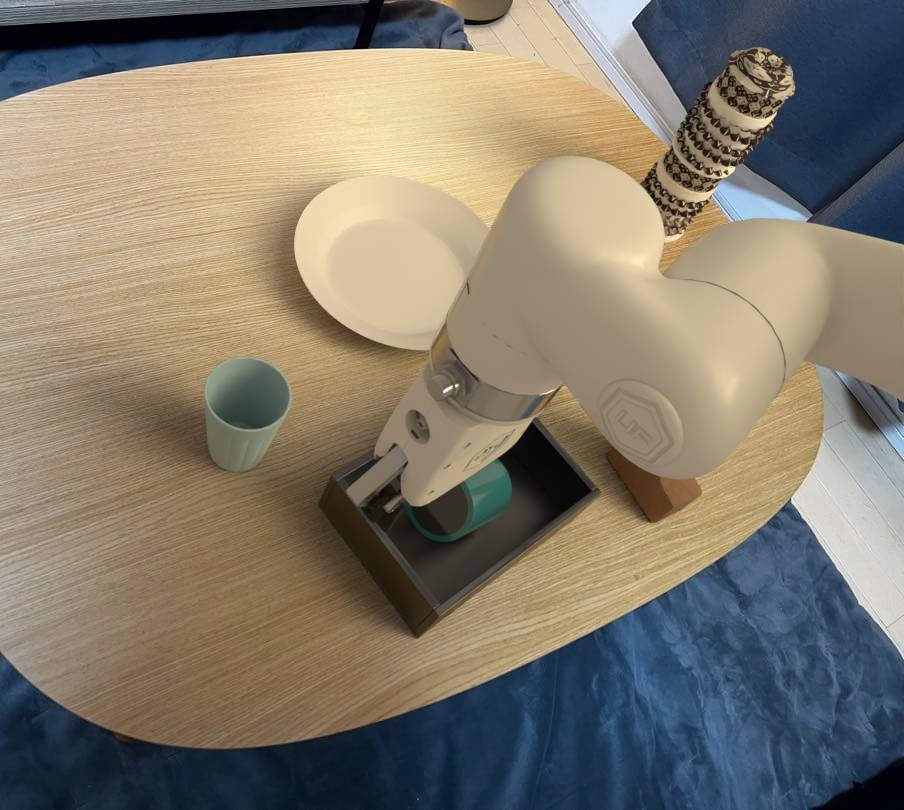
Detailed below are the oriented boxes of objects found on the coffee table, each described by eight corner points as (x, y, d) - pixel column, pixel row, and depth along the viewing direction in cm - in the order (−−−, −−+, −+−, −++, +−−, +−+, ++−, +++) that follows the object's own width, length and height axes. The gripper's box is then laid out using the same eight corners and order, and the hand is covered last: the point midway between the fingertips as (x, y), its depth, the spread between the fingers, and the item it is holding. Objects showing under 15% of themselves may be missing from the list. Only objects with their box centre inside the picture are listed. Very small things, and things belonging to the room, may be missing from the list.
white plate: (308, 373, 89) (314, 355, 86) (274, 195, 101) (278, 173, 98) (523, 363, 96) (535, 345, 93) (468, 198, 108) (477, 177, 105)
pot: (478, 435, 81) (438, 449, 75) (526, 491, 79) (489, 511, 73) (433, 479, 85) (391, 496, 78) (478, 534, 83) (438, 557, 76)
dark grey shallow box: (572, 520, 87) (603, 493, 81) (417, 639, 77) (439, 617, 71) (476, 406, 92) (498, 373, 86) (317, 504, 82) (330, 474, 76)
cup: (277, 416, 85) (292, 360, 77) (275, 485, 82) (291, 435, 73) (200, 409, 84) (207, 351, 75) (194, 479, 80) (201, 427, 71)
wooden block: (681, 510, 91) (789, 430, 76) (651, 525, 89) (755, 446, 74) (633, 441, 94) (727, 351, 79) (603, 454, 92) (693, 365, 77)
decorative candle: (654, 253, 110) (775, 100, 90) (609, 203, 113) (716, 44, 92) (699, 233, 114) (825, 82, 94) (654, 185, 117) (766, 28, 97)
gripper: (427, 481, 42) (352, 593, 57) (642, 342, 50) (527, 472, 65) (339, 370, 44) (288, 506, 59) (558, 254, 53) (465, 399, 68)
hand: (414, 487), depth 62 cm, fingers open, 6 cm apart
